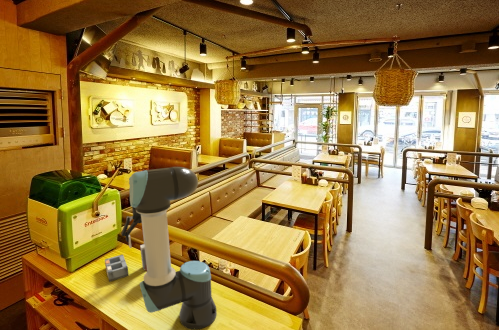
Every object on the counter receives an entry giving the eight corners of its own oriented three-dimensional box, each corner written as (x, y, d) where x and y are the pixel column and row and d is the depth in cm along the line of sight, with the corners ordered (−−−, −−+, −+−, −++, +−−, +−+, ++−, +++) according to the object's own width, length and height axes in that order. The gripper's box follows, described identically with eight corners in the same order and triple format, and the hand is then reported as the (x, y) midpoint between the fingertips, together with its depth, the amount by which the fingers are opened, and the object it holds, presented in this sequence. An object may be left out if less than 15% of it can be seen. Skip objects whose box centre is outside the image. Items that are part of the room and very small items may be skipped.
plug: (151, 268, 152) (148, 246, 149) (144, 270, 150) (141, 248, 147) (149, 264, 155) (147, 243, 152) (142, 267, 153) (140, 245, 150)
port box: (128, 275, 146) (127, 266, 144) (108, 281, 141) (107, 272, 140) (123, 262, 157) (122, 253, 156) (105, 267, 152) (104, 259, 151)
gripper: (162, 198, 153) (165, 233, 159) (111, 208, 140) (117, 246, 146) (166, 202, 147) (169, 239, 152) (114, 213, 134) (119, 253, 139)
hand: (144, 243), depth 149 cm, fingers open, 13 cm apart
